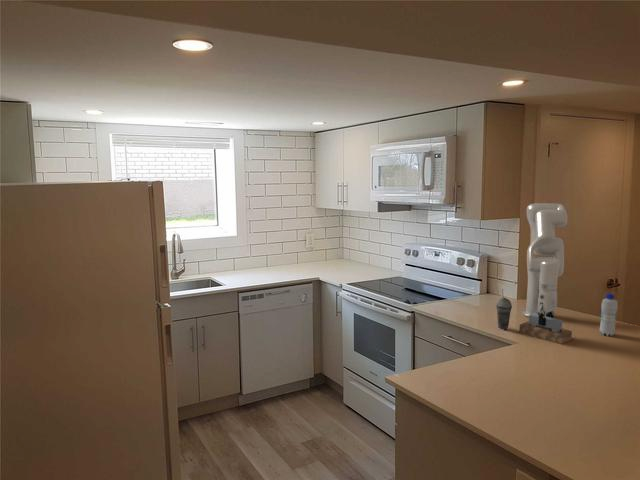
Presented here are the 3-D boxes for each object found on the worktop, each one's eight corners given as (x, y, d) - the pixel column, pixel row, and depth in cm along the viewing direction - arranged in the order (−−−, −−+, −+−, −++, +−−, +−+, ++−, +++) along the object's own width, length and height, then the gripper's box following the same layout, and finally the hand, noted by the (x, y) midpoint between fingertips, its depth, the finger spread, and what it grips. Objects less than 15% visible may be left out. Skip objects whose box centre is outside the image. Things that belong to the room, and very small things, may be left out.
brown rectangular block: (519, 332, 229) (519, 324, 229) (529, 327, 235) (530, 320, 235) (561, 344, 214) (561, 335, 213) (571, 339, 220) (571, 330, 219)
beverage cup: (508, 332, 230) (510, 292, 227) (493, 329, 234) (495, 290, 231) (512, 328, 236) (514, 289, 232) (497, 325, 240) (499, 286, 237)
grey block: (561, 338, 220) (562, 320, 219) (557, 340, 218) (558, 322, 217) (532, 330, 231) (533, 313, 230) (528, 332, 229) (529, 314, 228)
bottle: (599, 335, 224) (602, 294, 221) (598, 331, 230) (601, 291, 227) (615, 337, 221) (619, 296, 218) (614, 333, 227) (618, 292, 223)
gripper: (546, 291, 213) (544, 330, 216) (564, 285, 223) (562, 321, 226) (530, 288, 218) (528, 325, 221) (549, 282, 229) (546, 317, 232)
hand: (545, 323), depth 224 cm, fingers open, 6 cm apart
